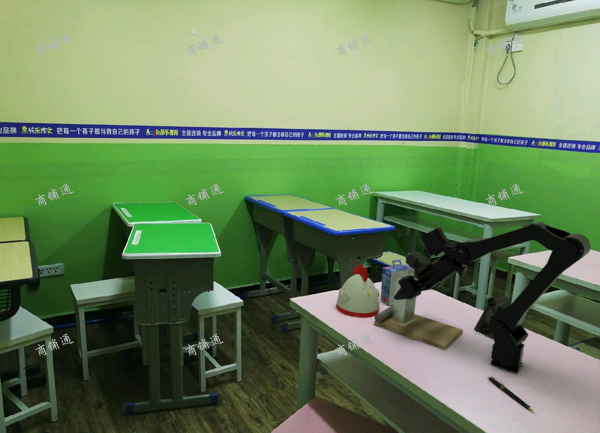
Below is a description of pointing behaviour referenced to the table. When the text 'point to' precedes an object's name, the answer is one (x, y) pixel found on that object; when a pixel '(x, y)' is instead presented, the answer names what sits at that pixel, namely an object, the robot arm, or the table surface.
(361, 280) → the kitchen timer
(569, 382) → the table surface
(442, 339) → the walnut base leaf
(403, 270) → the ink cartridge box
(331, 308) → the table surface
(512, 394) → the fountain pen
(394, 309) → the brushed steel block
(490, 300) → the phone stand
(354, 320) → the table surface
